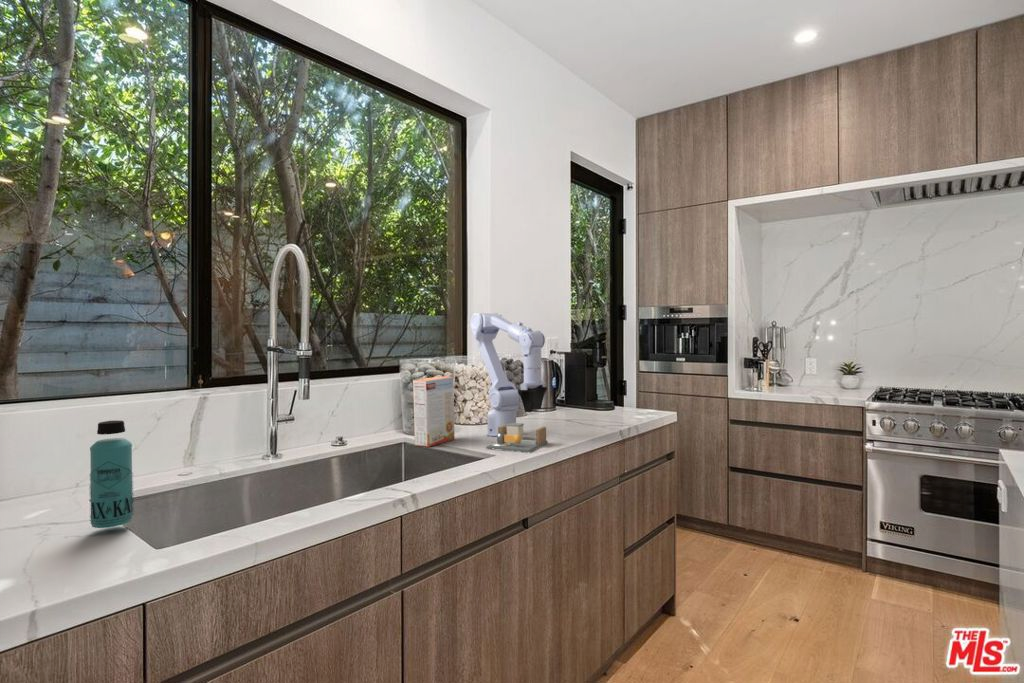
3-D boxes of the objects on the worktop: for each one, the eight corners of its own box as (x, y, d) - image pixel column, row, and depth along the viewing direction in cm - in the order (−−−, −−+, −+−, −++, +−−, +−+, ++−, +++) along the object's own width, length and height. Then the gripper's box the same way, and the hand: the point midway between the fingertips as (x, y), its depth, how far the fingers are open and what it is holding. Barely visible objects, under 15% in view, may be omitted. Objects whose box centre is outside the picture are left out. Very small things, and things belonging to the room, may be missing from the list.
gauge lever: (503, 441, 169) (503, 433, 169) (507, 440, 171) (506, 432, 171) (518, 443, 166) (518, 435, 166) (522, 442, 167) (522, 434, 167)
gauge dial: (488, 445, 169) (487, 434, 169) (496, 442, 175) (496, 431, 175) (505, 447, 167) (505, 435, 167) (514, 443, 172) (513, 432, 172)
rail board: (486, 448, 169) (486, 431, 168) (507, 439, 182) (507, 423, 182) (529, 452, 163) (529, 434, 163) (547, 443, 176) (547, 426, 176)
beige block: (506, 440, 176) (506, 424, 176) (511, 438, 179) (511, 422, 179) (518, 441, 174) (518, 425, 174) (523, 439, 178) (523, 423, 177)
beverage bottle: (87, 530, 101) (84, 421, 101) (130, 521, 106) (128, 417, 106) (93, 539, 97) (90, 425, 96) (138, 530, 101) (136, 420, 101)
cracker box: (440, 438, 187) (439, 375, 186) (455, 439, 183) (454, 376, 183) (413, 445, 175) (412, 379, 174) (428, 447, 171) (427, 379, 171)
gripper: (534, 370, 171) (535, 414, 171) (552, 367, 184) (552, 408, 184) (514, 369, 174) (514, 412, 174) (532, 366, 187) (533, 407, 188)
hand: (533, 410), depth 180 cm, fingers open, 7 cm apart
